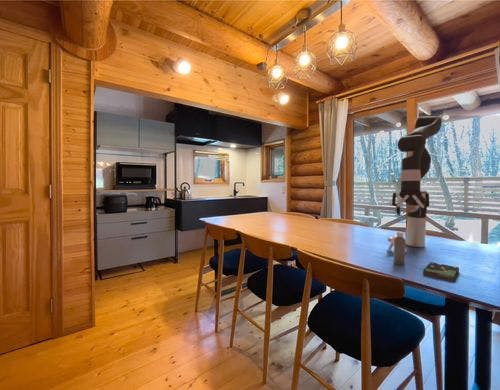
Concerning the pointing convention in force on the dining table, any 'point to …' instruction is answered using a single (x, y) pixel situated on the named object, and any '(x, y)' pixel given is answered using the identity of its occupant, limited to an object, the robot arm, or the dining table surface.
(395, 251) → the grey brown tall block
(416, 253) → the dining table surface
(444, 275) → the disk drive
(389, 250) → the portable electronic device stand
